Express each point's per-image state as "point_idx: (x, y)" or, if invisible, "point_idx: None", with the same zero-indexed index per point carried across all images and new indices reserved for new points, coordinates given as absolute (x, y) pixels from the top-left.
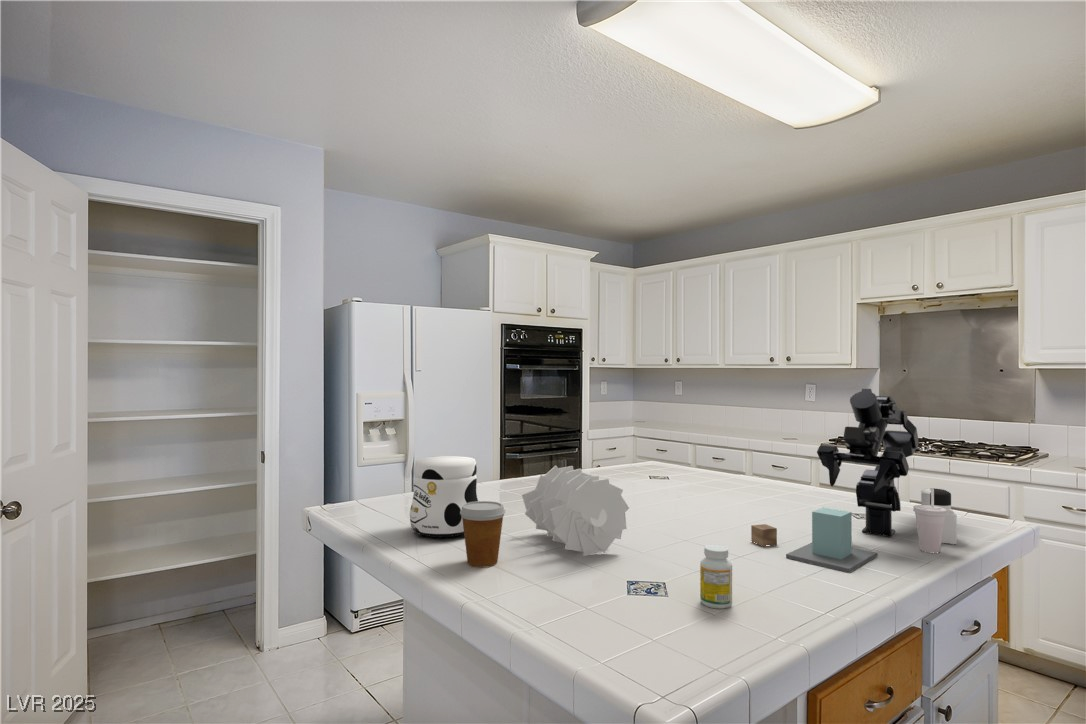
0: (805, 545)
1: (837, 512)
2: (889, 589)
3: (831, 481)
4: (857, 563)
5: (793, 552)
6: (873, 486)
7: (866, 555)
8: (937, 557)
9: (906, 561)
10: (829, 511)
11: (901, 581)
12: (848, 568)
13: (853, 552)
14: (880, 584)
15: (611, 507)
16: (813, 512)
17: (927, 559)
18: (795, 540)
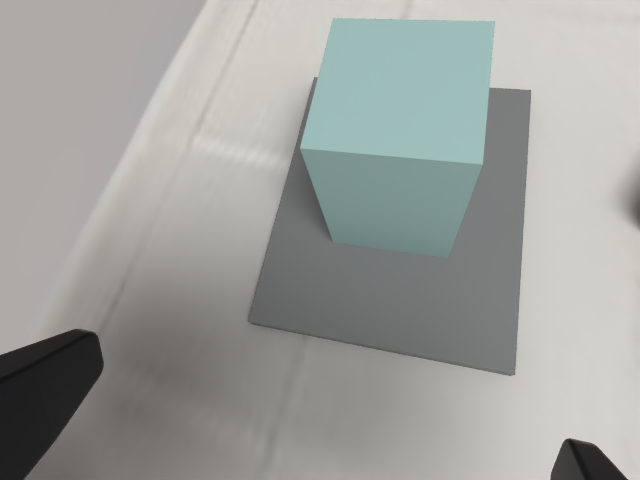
0: (521, 243)
1: (367, 87)
2: (217, 34)
3: (588, 461)
4: (299, 138)
5: (518, 123)
6: (60, 342)
7: (281, 249)
8: (42, 459)
9: (158, 318)
10: (413, 84)
11: (188, 104)
12: (317, 78)
13: (329, 262)
14: (236, 52)
15: None
16: (485, 23)
17: (84, 399)
18: (620, 374)
